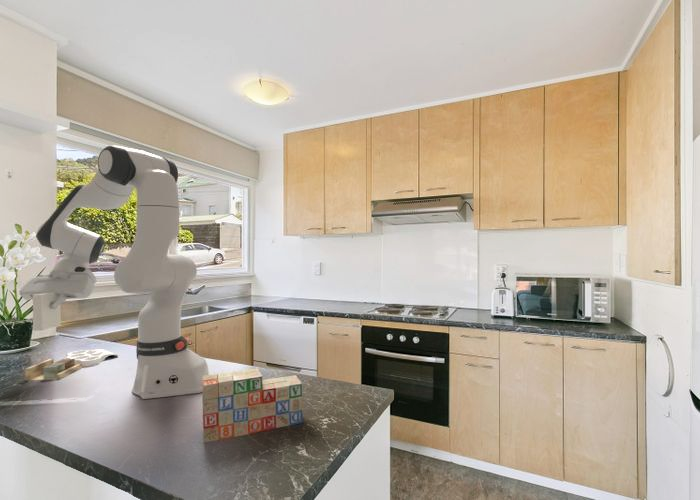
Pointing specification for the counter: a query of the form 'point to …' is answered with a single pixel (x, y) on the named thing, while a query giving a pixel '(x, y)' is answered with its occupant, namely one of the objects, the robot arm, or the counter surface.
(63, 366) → the offcuts
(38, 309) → the cream board
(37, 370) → the oak rack
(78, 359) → the knuckle duster
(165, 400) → the counter surface
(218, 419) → the stack of blocks
